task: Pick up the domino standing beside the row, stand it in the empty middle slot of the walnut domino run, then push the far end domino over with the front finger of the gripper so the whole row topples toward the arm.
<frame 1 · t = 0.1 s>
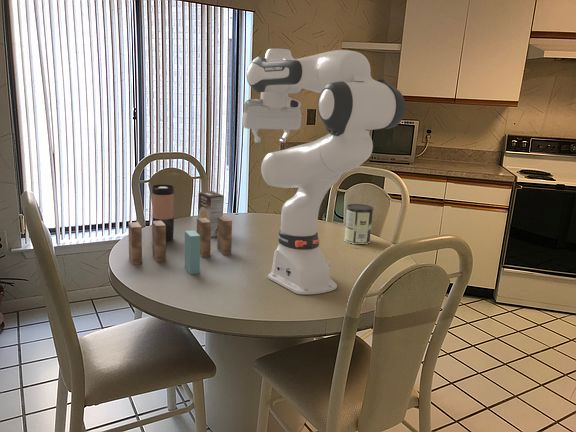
hand: (270, 142, 159), 39 cm above the table, tool pointing down, fingers open, 8 cm apart
travel mug: (163, 239, 176), on the table
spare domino: (192, 270, 148), on the table
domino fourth: (203, 253, 163), on the table
coffee box: (210, 233, 188), on the table
domino far: (135, 260, 153), on the table
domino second: (159, 258, 157), on the table
coffee can: (356, 241, 189), on the table
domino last: (224, 251, 167), on the table
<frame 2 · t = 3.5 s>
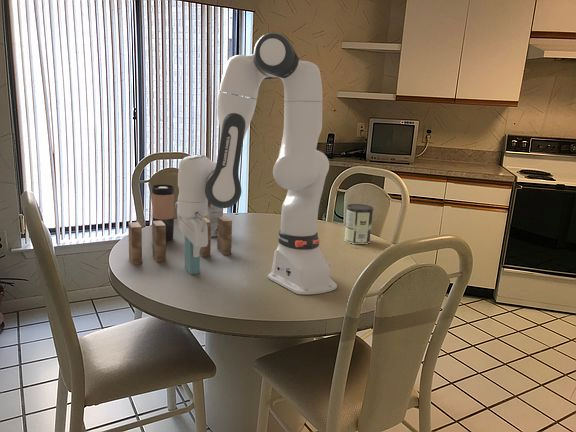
hand: (192, 252, 146), 6 cm above the table, tool pointing down, fingers closed on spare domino, 6 cm apart
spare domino: (192, 270, 148), on the table, touching gripper
everything else where it was.
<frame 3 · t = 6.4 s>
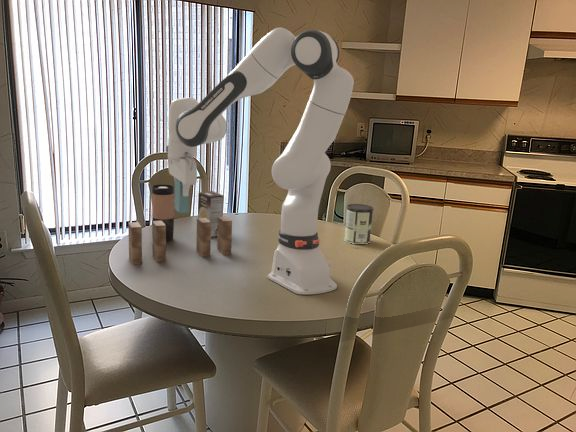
hand: (181, 193, 153), 22 cm above the table, tool pointing down, fingers closed on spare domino, 6 cm apart
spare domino: (181, 210, 155), point 16 cm above the table, touching gripper
everything else where it was.
when the fingers open (7 cm above the table, at t = 9.3 s): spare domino stays where it is, on the table.
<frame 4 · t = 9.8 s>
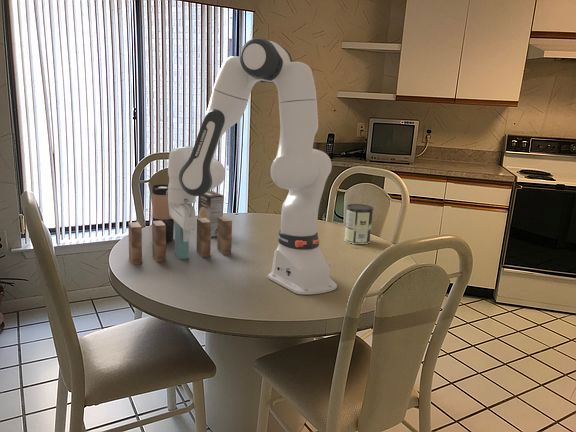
hand: (181, 236, 158), 7 cm above the table, tool pointing down, fingers open, 8 cm apart
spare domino: (181, 256, 160), on the table
everything else where it was.
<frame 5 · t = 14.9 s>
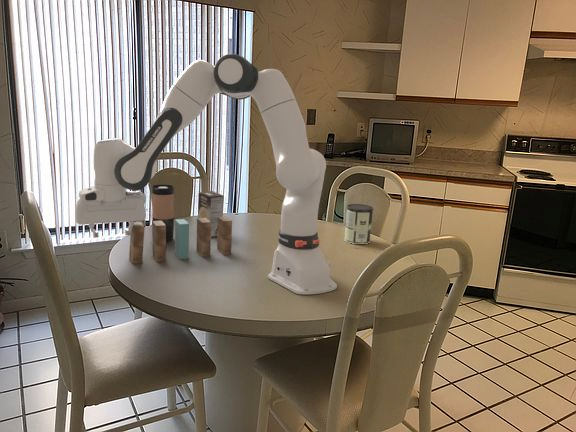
hand: (112, 235, 148), 9 cm above the table, tool pointing down, fingers open, 8 cm apart
nothing on the table moved.
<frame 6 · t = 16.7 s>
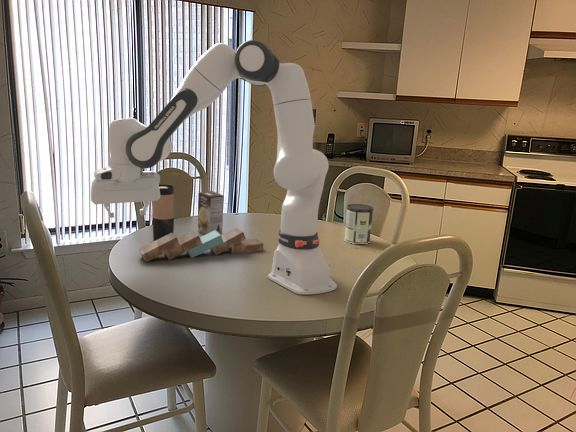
hand: (127, 216, 148), 15 cm above the table, tool pointing down, fingers open, 8 cm apart
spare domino: (187, 251, 160), point 1 cm above the table, tilted 68°, touching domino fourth, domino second
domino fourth: (211, 249, 164), point 1 cm above the table, tilted 66°, touching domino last, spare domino
domino far: (142, 255, 154), point 1 cm above the table, tilted 66°, touching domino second
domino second: (165, 253, 157), point 1 cm above the table, tilted 66°, touching domino far, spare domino
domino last: (228, 248, 167), point 1 cm above the table, tilted 90°, touching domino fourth
everything else where it was.
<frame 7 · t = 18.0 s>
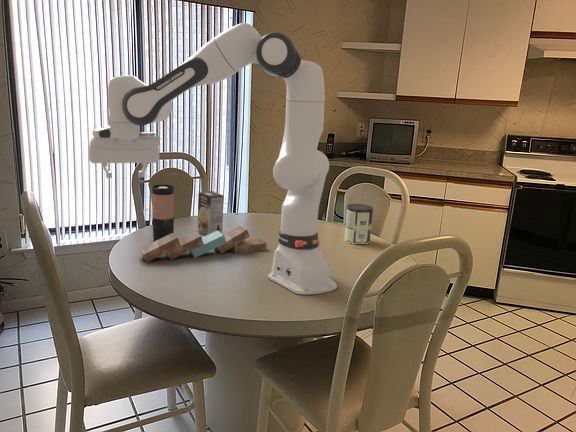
hand: (125, 177, 145), 27 cm above the table, tool pointing down, fingers open, 8 cm apart
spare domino: (190, 251, 161), point 1 cm above the table, tilted 69°, touching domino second
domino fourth: (216, 247, 166), point 1 cm above the table, tilted 66°
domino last: (232, 247, 169), point 1 cm above the table, tilted 90°
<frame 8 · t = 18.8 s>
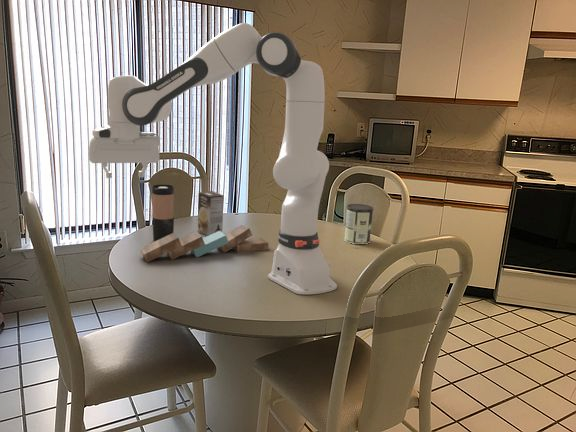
hand: (125, 177, 145), 27 cm above the table, tool pointing down, fingers open, 8 cm apart
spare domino: (192, 251, 161), point 1 cm above the table, tilted 70°, touching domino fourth, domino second
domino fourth: (219, 247, 167), point 2 cm above the table, tilted 65°, touching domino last, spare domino
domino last: (234, 247, 169), point 1 cm above the table, tilted 90°, touching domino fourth
at the end: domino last tilted 90°; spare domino inside the target area (3.7 cm from its centre), point 1.4 cm above the table; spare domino tilted 70° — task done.
